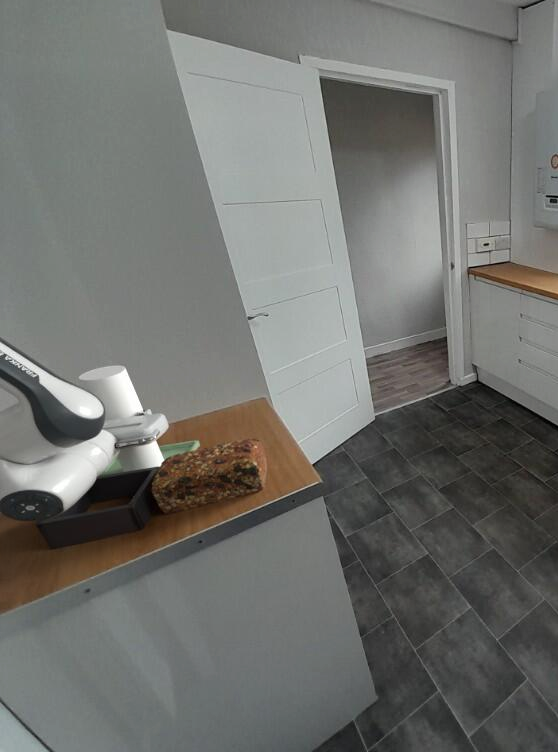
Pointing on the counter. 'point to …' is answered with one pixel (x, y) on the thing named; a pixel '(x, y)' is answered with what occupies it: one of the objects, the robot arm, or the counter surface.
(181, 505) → the bread
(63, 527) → the basket
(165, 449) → the tray
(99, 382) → the cylindrical container
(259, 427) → the counter surface
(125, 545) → the counter surface
